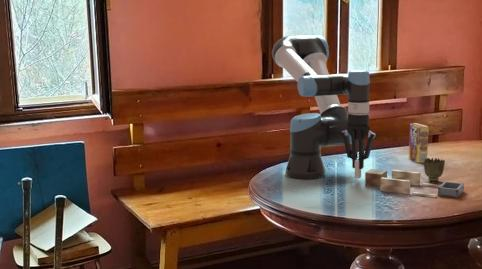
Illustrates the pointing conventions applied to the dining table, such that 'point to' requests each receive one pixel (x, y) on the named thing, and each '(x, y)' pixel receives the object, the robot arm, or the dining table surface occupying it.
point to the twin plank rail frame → (404, 183)
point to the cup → (434, 168)
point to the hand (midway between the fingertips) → (357, 177)
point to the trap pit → (450, 189)
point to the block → (374, 177)
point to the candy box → (418, 142)
